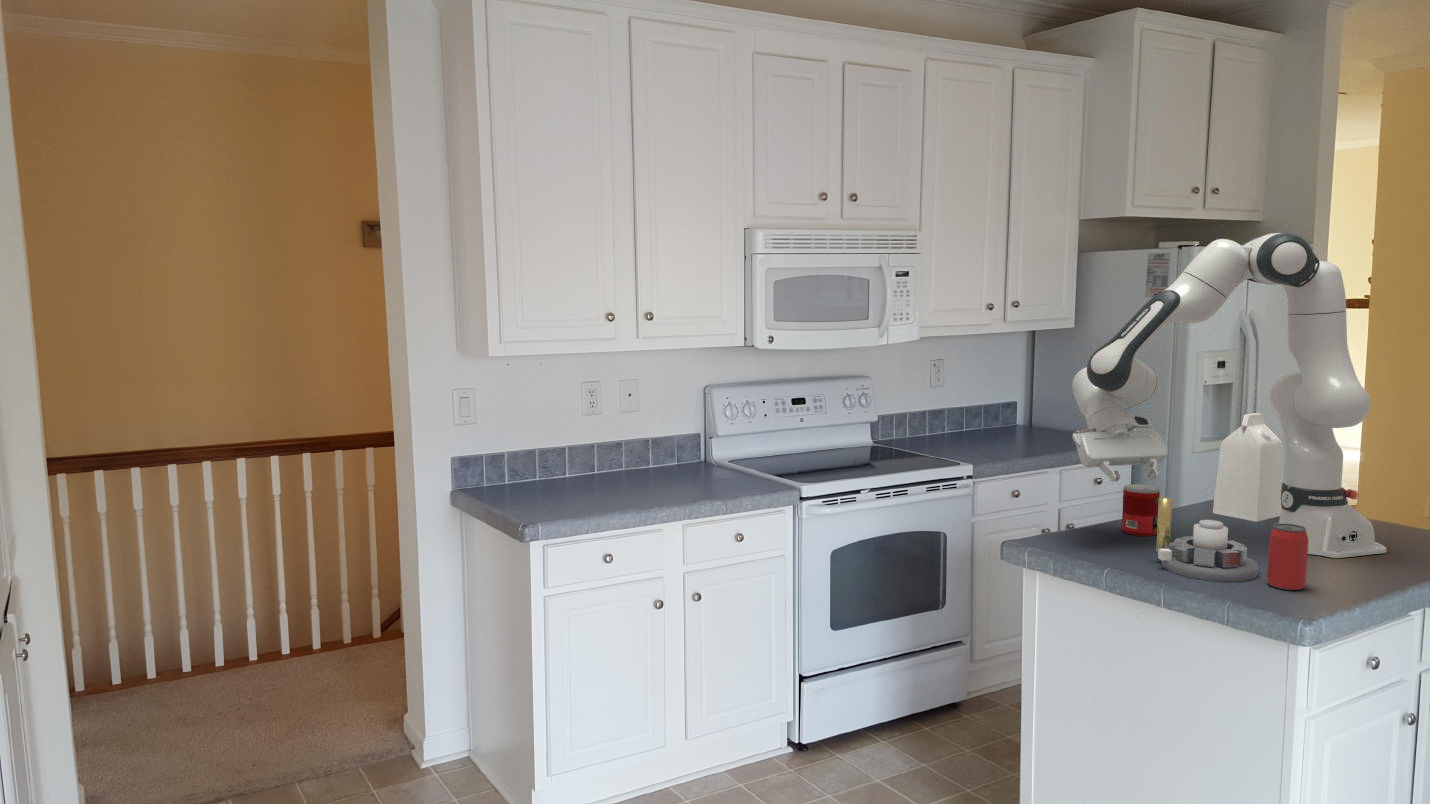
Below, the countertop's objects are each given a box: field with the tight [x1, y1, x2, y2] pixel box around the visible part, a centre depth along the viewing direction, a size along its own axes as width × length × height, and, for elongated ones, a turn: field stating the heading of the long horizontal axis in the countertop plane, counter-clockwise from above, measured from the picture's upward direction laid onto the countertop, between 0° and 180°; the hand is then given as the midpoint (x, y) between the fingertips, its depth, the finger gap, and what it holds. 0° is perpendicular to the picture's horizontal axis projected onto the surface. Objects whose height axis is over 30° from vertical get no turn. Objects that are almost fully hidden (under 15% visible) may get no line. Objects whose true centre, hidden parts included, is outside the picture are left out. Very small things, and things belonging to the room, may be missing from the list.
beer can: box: [1266, 523, 1309, 591], centre depth 197 cm, size 7×7×12 cm
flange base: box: [1157, 519, 1259, 583], centre depth 209 cm, size 19×18×10 cm
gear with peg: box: [1155, 496, 1248, 568], centre depth 209 cm, size 17×13×12 cm
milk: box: [1212, 412, 1284, 523], centre depth 256 cm, size 12×12×26 cm
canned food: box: [1121, 483, 1161, 537], centre depth 239 cm, size 8×8×11 cm
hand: (1135, 478), depth 221 cm, fingers open, 8 cm apart
